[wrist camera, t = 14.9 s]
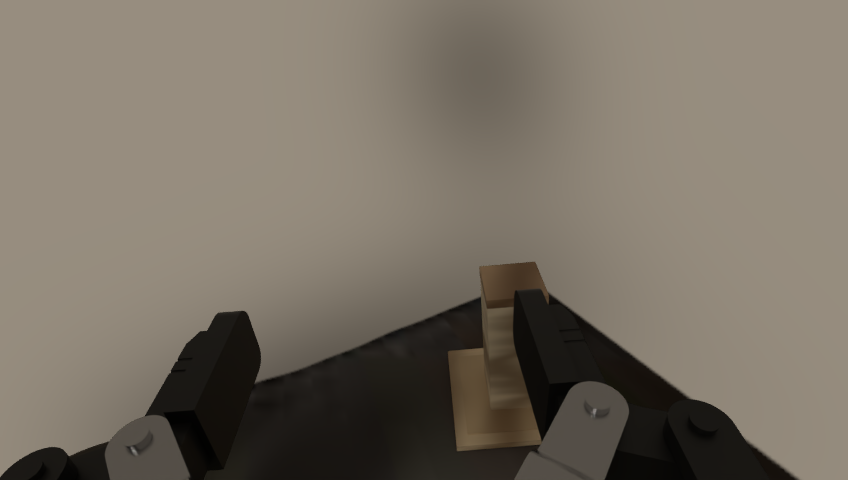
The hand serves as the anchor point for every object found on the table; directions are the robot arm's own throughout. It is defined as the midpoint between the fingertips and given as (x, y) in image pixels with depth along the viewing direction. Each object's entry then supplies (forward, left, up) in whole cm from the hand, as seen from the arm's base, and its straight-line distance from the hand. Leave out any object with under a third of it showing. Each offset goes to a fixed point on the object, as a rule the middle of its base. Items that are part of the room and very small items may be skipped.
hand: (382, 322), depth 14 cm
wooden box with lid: (+7, +19, -25) cm, 32 cm away
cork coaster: (+7, +19, -25) cm, 32 cm away
